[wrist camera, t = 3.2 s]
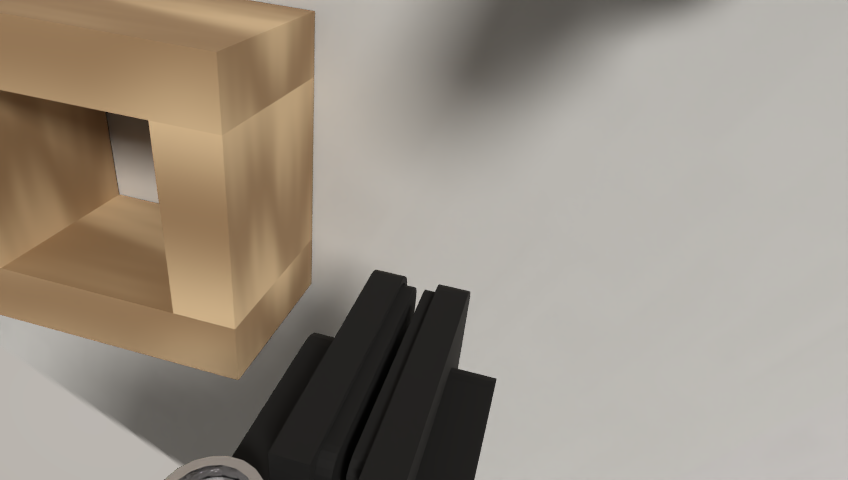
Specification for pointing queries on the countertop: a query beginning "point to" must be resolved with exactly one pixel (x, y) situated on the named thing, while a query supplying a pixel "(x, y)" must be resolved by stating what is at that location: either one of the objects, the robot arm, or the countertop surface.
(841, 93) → the countertop surface
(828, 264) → the countertop surface
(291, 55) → the socket block
